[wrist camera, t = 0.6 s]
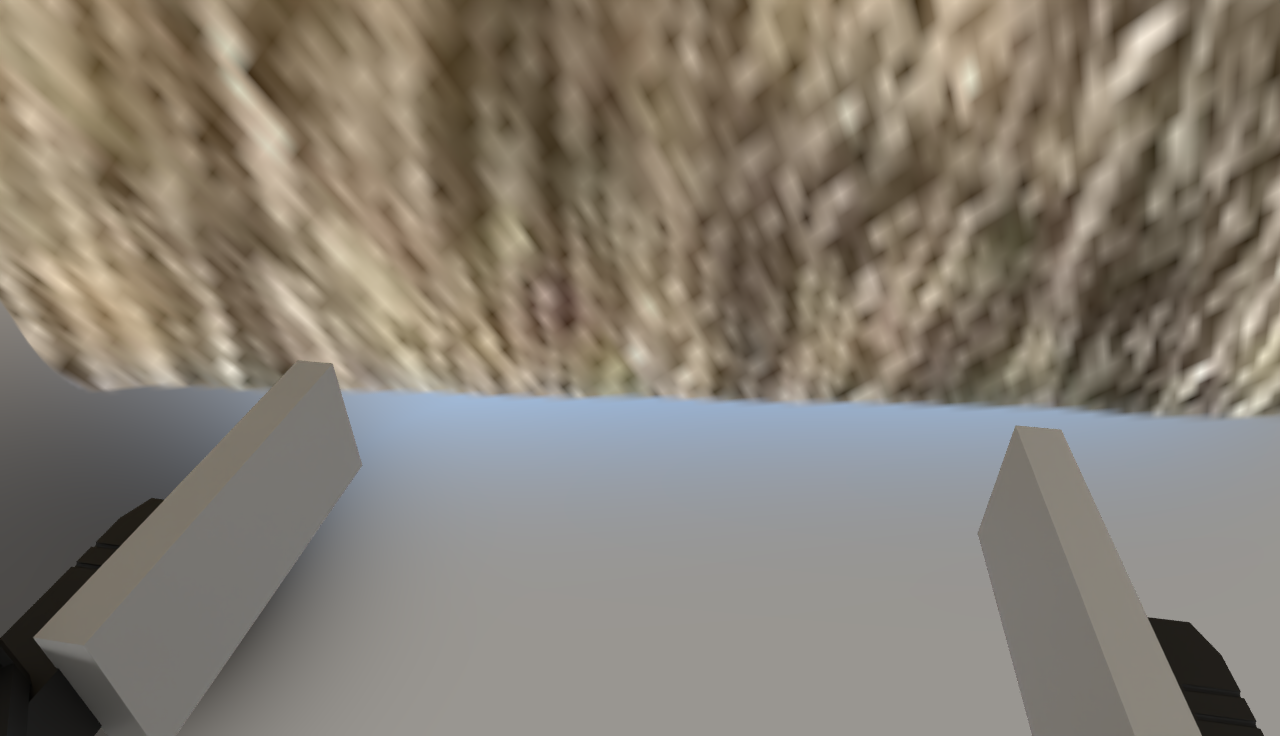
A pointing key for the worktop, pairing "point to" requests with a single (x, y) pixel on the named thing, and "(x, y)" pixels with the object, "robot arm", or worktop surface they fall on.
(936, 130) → the worktop surface
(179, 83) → the worktop surface
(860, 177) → the worktop surface
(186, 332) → the worktop surface
